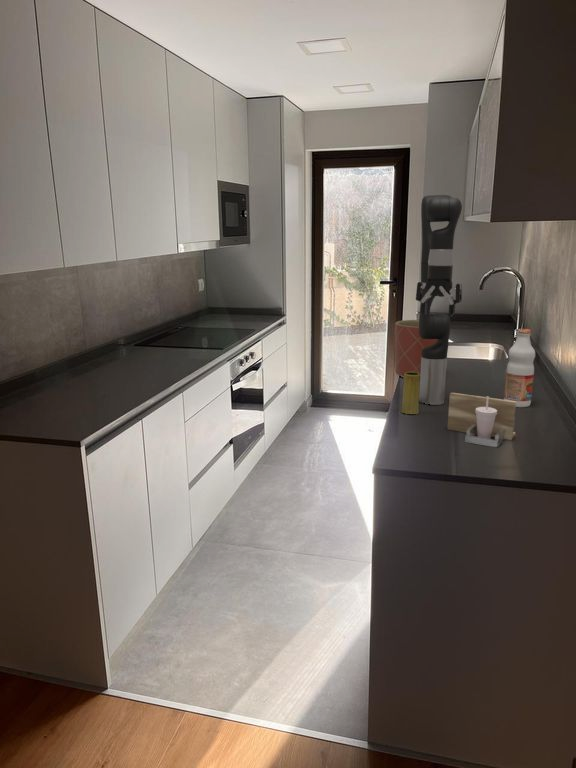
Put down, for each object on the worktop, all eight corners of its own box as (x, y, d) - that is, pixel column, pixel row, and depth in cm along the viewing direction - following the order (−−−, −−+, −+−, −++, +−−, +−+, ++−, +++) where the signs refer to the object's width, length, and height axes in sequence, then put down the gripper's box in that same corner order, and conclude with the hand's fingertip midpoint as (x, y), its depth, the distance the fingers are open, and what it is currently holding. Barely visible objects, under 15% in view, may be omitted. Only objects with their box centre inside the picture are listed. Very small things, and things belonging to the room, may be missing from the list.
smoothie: (474, 442, 180) (478, 398, 176) (471, 435, 186) (475, 392, 182) (496, 443, 179) (500, 399, 175) (492, 436, 185) (496, 393, 181)
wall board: (452, 424, 196) (454, 389, 193) (515, 435, 186) (518, 398, 183) (447, 429, 192) (449, 393, 189) (511, 440, 182) (515, 402, 179)
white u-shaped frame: (473, 433, 188) (473, 423, 187) (504, 438, 183) (505, 428, 182) (464, 441, 180) (465, 430, 179) (497, 447, 175) (498, 436, 175)
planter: (441, 370, 275) (444, 320, 269) (448, 382, 253) (452, 327, 247) (391, 369, 277) (393, 319, 271) (394, 380, 255) (397, 326, 250)
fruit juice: (501, 400, 225) (508, 327, 218) (527, 401, 224) (535, 328, 217) (505, 407, 216) (512, 331, 210) (532, 408, 215) (540, 332, 208)
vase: (416, 409, 213) (418, 371, 210) (420, 414, 207) (422, 375, 204) (399, 410, 213) (401, 371, 209) (403, 415, 207) (405, 375, 203)
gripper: (466, 264, 186) (462, 315, 190) (422, 263, 193) (420, 312, 197) (459, 265, 179) (455, 318, 183) (414, 264, 187) (412, 315, 191)
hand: (437, 315), depth 190 cm, fingers open, 8 cm apart
